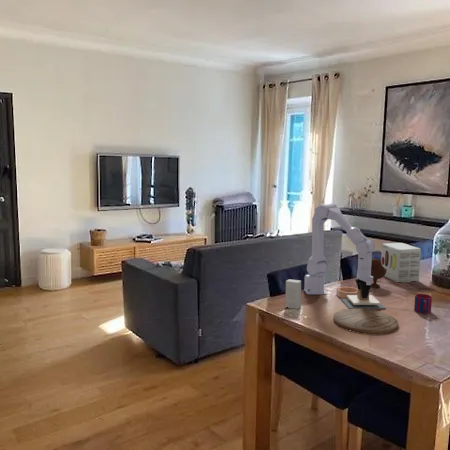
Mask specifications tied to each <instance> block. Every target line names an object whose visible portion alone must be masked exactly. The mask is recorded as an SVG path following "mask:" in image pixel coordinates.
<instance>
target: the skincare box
mask: <svg viewBox="0 0 450 450" xmlns="http://www.w3.org/2000/svg"><path fill="white" fill-rule="evenodd" d="M286 307H288V309H294V308H295V309H294V310H299V309H300V308H301V307H302V280H298V279H290V278H289V279H287V280H285V308H286Z"/></svg>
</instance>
